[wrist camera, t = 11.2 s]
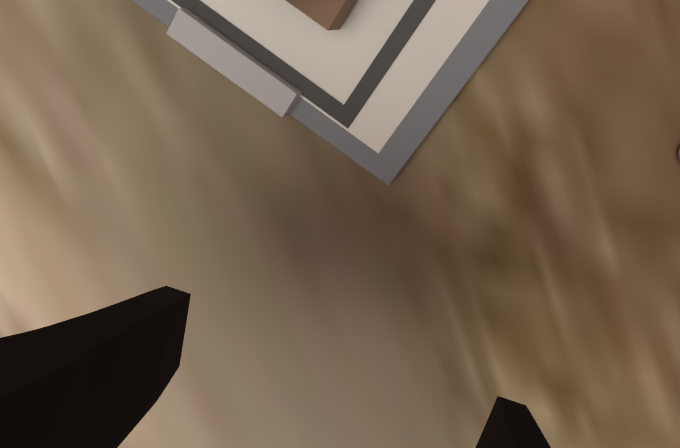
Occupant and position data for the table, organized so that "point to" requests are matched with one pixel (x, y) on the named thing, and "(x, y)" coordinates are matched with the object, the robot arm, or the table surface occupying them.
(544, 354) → the table surface
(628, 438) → the table surface
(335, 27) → the stamp
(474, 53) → the grey white rectangular board
